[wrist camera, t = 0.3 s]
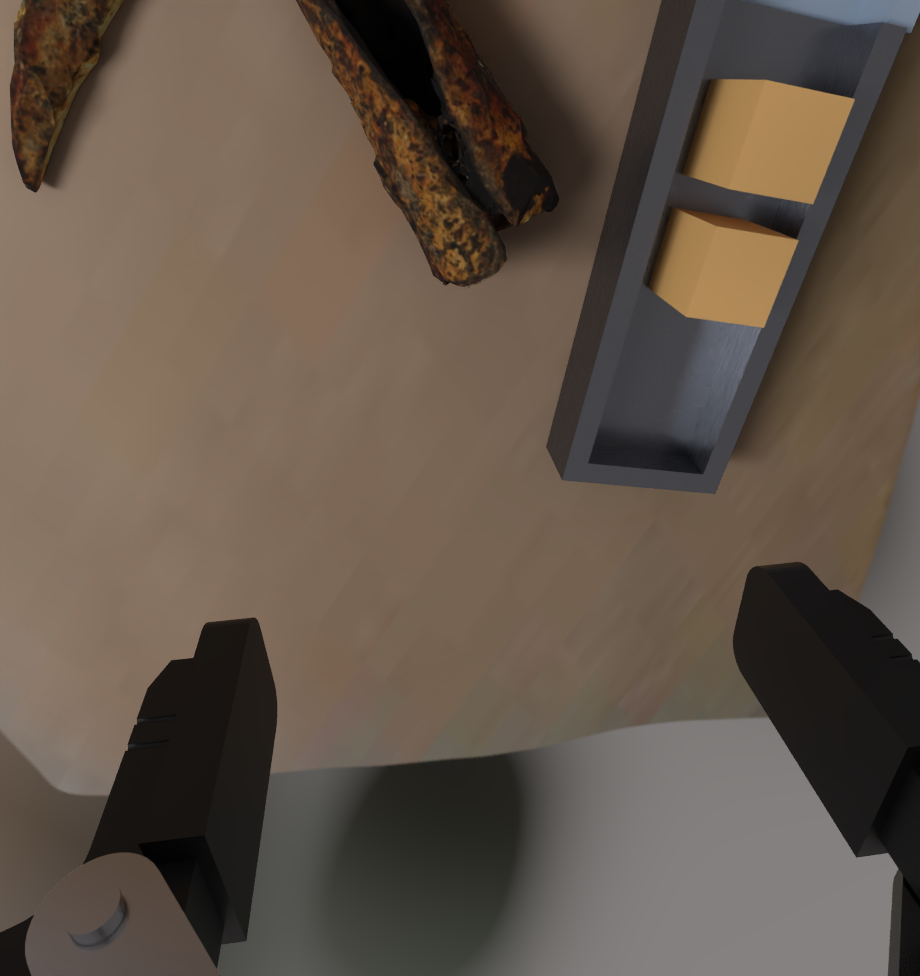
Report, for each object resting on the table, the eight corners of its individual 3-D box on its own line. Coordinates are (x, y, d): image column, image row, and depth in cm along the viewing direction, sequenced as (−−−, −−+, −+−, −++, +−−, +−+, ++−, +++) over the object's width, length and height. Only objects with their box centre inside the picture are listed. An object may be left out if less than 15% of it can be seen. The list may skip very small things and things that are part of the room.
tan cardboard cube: (672, 207, 34) (716, 226, 29) (745, 219, 34) (798, 240, 30) (647, 288, 36) (685, 316, 31) (717, 298, 36) (763, 327, 32)
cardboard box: (711, 79, 31) (765, 79, 27) (789, 95, 32) (855, 99, 27) (682, 174, 33) (729, 189, 29) (756, 187, 34) (813, 204, 29)
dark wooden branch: (624, 147, 33) (148, -744, 21) (662, 156, 28) (50, -1042, 15) (271, 411, 40) (-262, -153, 27) (247, 460, 34) (-437, -218, 21)
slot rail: (664, -11, 30) (702, -22, 27) (850, 33, 32) (907, 28, 29) (546, 447, 42) (562, 480, 38) (687, 461, 43) (714, 493, 40)
